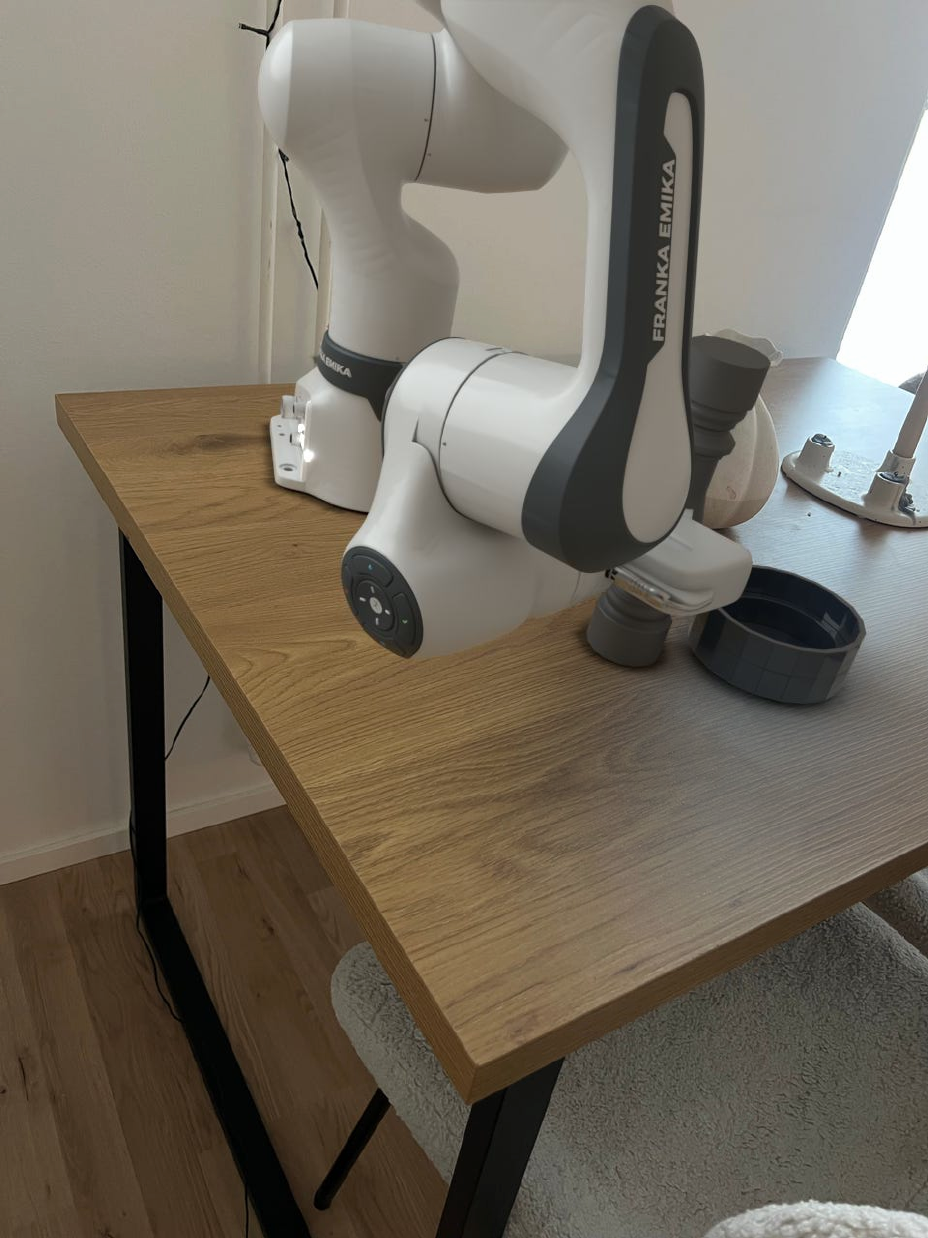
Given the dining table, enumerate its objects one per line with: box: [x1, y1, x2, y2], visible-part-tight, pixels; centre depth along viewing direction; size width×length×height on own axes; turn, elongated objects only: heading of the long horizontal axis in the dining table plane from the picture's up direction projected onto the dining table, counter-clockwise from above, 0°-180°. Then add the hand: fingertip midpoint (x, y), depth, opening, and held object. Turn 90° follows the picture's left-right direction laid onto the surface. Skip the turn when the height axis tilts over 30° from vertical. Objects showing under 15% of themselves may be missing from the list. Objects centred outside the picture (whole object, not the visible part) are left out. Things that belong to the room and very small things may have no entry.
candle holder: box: [585, 334, 772, 668], centre depth 75 cm, size 6×6×25 cm
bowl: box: [687, 564, 867, 705], centre depth 83 cm, size 13×13×6 cm
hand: (672, 499), depth 76 cm, fingers closed on candle holder, 2 cm apart
